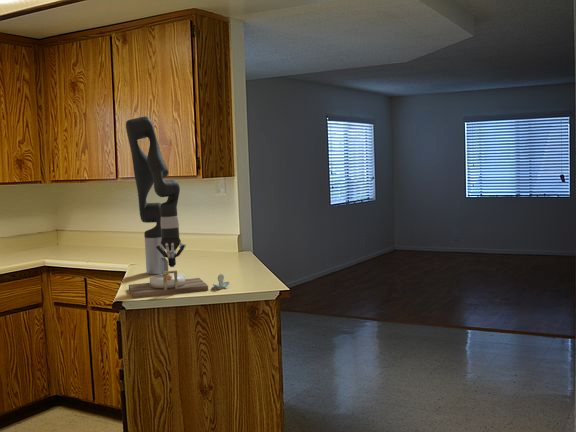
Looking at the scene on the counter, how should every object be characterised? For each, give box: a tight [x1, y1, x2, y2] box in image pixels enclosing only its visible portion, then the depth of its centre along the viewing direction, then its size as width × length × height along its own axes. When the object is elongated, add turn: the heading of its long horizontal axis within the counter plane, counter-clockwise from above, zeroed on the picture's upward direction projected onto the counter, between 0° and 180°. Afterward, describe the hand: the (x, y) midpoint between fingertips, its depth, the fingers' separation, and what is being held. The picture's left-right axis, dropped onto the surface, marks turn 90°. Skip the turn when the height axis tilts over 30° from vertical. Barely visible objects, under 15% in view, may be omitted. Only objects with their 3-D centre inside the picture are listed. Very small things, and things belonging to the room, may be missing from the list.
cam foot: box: [149, 257, 186, 288], centre depth 274 cm, size 23×14×9 cm, turn 18°
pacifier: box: [211, 273, 230, 290], centre depth 271 cm, size 7×6×6 cm
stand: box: [128, 270, 209, 299], centre depth 270 cm, size 18×30×9 cm, turn 109°
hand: (172, 266), depth 282 cm, fingers closed
